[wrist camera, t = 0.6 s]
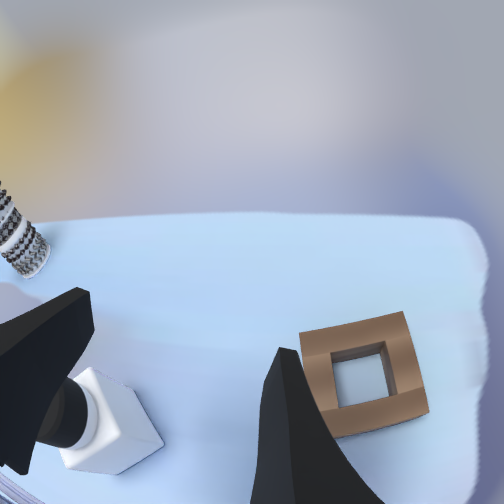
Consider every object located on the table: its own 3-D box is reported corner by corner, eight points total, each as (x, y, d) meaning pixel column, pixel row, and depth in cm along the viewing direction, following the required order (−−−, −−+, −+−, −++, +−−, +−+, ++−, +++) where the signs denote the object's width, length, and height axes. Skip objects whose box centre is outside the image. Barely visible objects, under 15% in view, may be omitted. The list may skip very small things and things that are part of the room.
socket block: (418, 417, 19) (429, 412, 16) (313, 442, 20) (311, 440, 18) (396, 325, 24) (402, 310, 22) (302, 345, 26) (298, 332, 23)
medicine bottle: (133, 388, 26) (50, 339, 17) (166, 444, 22) (74, 421, 13) (89, 420, 24) (2, 382, 15) (116, 476, 20) (19, 459, 11)
